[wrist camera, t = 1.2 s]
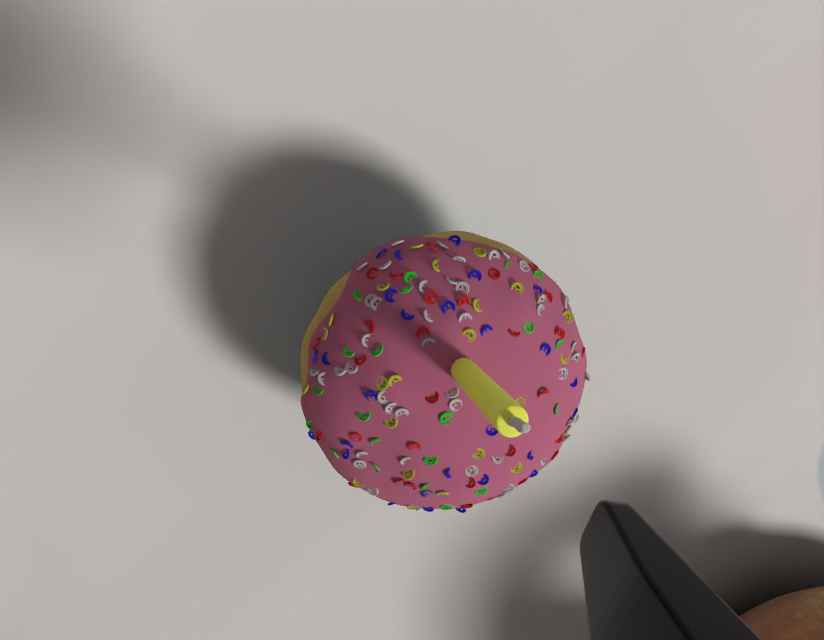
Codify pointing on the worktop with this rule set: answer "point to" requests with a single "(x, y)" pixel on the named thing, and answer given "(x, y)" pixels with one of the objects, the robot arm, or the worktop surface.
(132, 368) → the worktop surface
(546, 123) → the worktop surface
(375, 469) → the cupcake
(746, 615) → the ceramic jug
